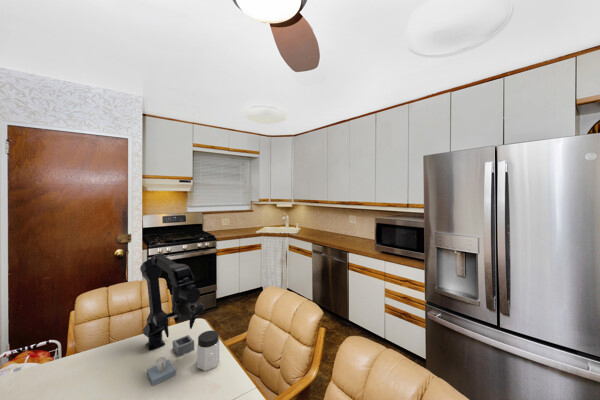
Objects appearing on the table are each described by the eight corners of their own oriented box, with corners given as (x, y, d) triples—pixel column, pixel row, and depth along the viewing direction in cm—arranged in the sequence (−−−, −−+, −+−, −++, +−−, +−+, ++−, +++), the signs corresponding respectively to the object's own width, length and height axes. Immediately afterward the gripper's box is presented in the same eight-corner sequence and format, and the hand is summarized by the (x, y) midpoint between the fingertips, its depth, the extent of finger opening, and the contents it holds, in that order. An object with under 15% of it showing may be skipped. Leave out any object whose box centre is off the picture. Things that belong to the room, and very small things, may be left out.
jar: (199, 373, 97) (199, 344, 97) (195, 362, 104) (195, 334, 104) (222, 365, 102) (222, 337, 102) (216, 354, 109) (216, 328, 109)
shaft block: (146, 374, 97) (146, 359, 97) (168, 364, 103) (168, 350, 102) (152, 385, 91) (152, 369, 91) (175, 374, 97) (175, 359, 97)
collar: (172, 349, 112) (172, 341, 112) (188, 343, 117) (188, 334, 117) (178, 356, 107) (178, 347, 107) (194, 349, 112) (194, 341, 112)
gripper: (160, 310, 91) (160, 351, 91) (209, 296, 104) (209, 332, 104) (152, 300, 99) (152, 338, 99) (199, 288, 112) (198, 321, 112)
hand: (179, 332), depth 104 cm, fingers open, 9 cm apart
